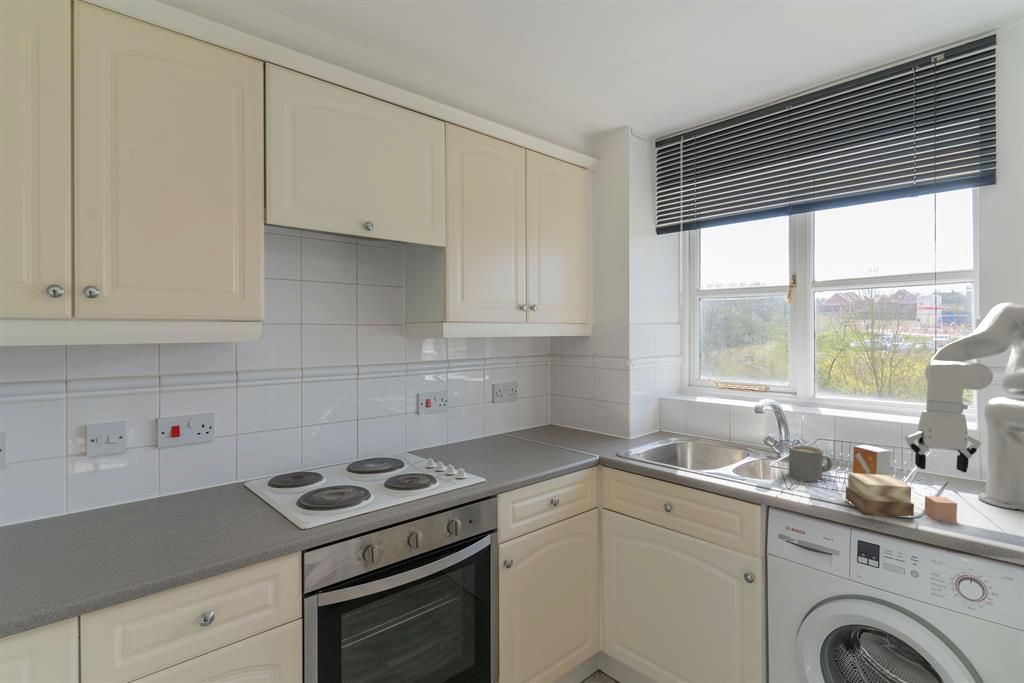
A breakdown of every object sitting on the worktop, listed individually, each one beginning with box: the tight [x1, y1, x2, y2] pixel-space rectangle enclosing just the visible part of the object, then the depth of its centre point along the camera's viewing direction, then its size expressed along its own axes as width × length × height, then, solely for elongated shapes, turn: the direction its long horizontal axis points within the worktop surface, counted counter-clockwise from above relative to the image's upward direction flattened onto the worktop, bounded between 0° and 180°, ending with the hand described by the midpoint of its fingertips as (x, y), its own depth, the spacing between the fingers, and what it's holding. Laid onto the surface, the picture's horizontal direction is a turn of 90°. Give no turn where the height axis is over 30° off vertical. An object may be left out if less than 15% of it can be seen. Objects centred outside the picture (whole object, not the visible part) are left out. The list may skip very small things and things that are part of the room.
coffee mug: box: [788, 444, 833, 482], centre depth 174 cm, size 13×10×10 cm
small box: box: [852, 444, 892, 476], centre depth 164 cm, size 8×6×13 cm
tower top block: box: [847, 472, 912, 503], centre depth 145 cm, size 11×11×4 cm
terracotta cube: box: [924, 495, 958, 523], centre depth 140 cm, size 5×5×5 cm
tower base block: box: [845, 486, 915, 518], centre depth 145 cm, size 12×12×4 cm
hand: (940, 469), depth 139 cm, fingers open, 9 cm apart
